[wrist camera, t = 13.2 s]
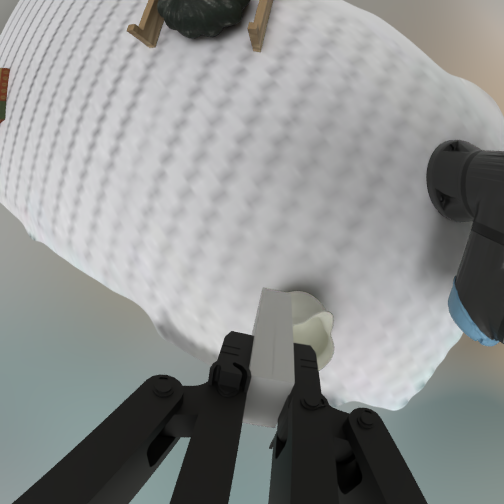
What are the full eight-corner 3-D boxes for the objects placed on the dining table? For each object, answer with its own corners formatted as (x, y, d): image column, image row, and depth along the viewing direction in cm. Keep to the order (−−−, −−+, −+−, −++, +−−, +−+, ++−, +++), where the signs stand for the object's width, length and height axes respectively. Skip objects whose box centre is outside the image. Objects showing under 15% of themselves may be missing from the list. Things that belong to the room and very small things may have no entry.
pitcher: (246, 335, 53) (236, 384, 40) (289, 258, 48) (292, 295, 35) (294, 355, 54) (296, 404, 41) (342, 284, 48) (361, 326, 35)
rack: (276, -14, 32) (275, -41, 23) (260, 52, 37) (256, 29, 28) (172, -15, 32) (155, -37, 24) (149, 47, 37) (126, 30, 29)
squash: (222, -45, 25) (155, -48, 18) (281, -7, 29) (222, -12, 21) (188, 7, 37) (126, 19, 29) (238, 46, 40) (178, 62, 33)
